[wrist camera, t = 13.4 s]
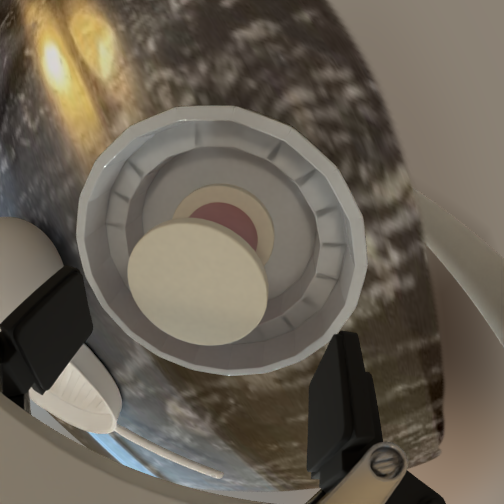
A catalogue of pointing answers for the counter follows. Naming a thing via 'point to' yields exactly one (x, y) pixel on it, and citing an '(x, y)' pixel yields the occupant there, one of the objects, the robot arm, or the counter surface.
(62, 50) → the counter surface
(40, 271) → the ornament
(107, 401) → the pan
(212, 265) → the spool
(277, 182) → the bowl
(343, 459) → the robot arm
